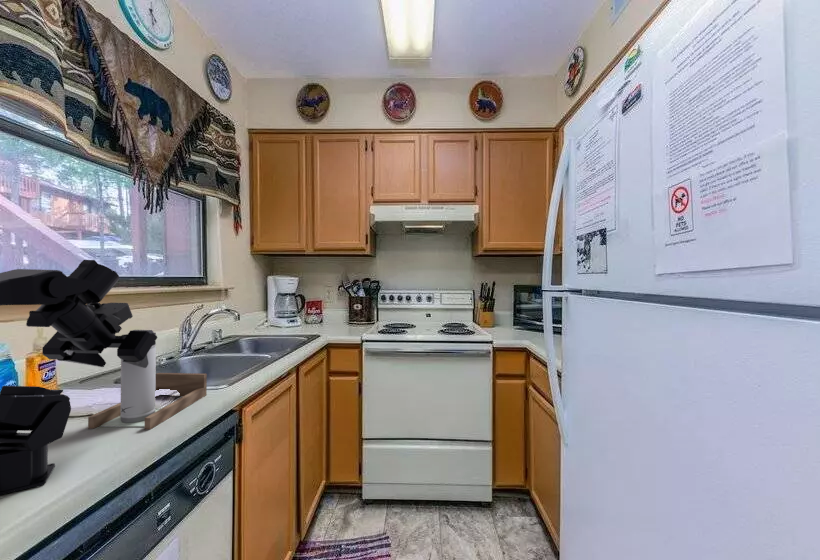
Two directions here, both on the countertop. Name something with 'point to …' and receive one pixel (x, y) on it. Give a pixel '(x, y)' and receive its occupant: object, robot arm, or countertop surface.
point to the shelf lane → (184, 383)
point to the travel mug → (138, 389)
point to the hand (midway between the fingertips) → (125, 365)
